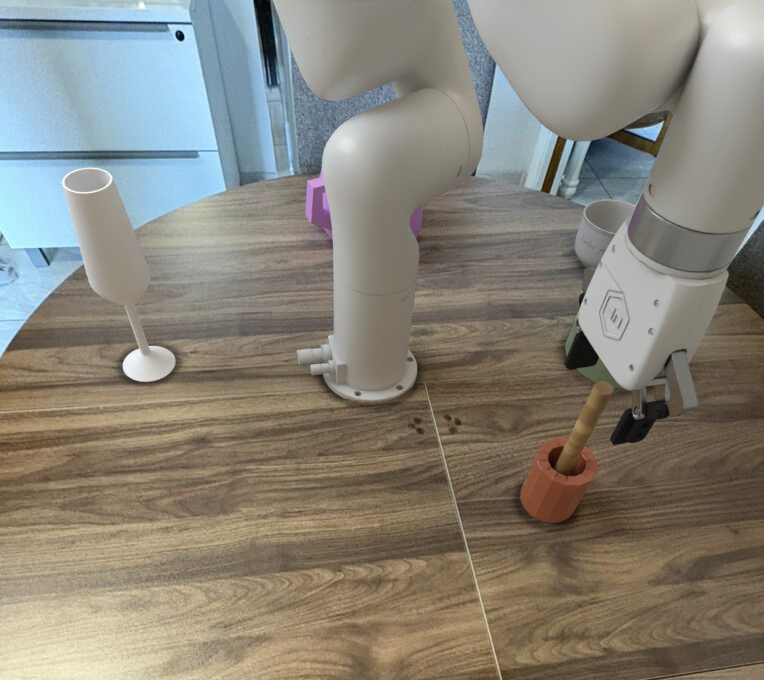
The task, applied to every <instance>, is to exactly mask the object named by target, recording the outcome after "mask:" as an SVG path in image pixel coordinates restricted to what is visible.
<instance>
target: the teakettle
mask: <svg viewBox="0 0 764 680" xmlns="http://www.w3.org/2000/svg"><path fill="white" fill-rule="evenodd" d="M320 169H321V170H320V173H319V177H316V178H312V179H308V180H306V197H305V214H304V215H305V217H306V218H307V220H308V221H309V223H310V224H311V225H315V226H318V227H321V228H323V230H324V232H325V233H326V234H327V235H328V237H329V238H330V239H331V241H332V242H333V237H332V225H331V217H330V211H329V205H328V200H327V196H326V191H325V186H324V181H323V175H322V167H321V168H320ZM423 208H424V205H423V206H421V207H419V208H418V209H416V210H415V211H414V212H413V214H412V215H411V217H410V227H411V230H412V232H413V233H414V235H415V237H416V239H417V238H418V236H419V234H420V232H421V229H422V225H423V212H424V211H423ZM417 240H418V239H417Z"/></svg>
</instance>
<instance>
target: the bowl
mask: <svg viewBox="0 0 764 680" xmlns="http://www.w3.org/2000/svg"><path fill="white" fill-rule="evenodd" d="M578 313H579V310H578V311H577V312H576V314H575V318H574V320H573V322H572V325H571V328H570V331H569V333H568V335H567V338H566V341H565V344H564V349H565V354H566V357H567V356H568V353H569V350H570V348H571V345H572V343H573V340H574V338H575V335H576V333H579V332H578V331H577V330H576V326H575V323H576V320H577V319H578ZM576 370H577V371H578V372H579V373H580V374H581V375H582V376H584V377H585V378H587V379H588V380H591V381H592V382H594V383H596V382H599V381H605V382H608V383H609V384H611V385H612V387H613V389H622V390H625V389H624V388H622V387H621V386H620V385H619V384H618V383H617V382H616V380H615V379H614V378H613V376H612V375H611V374H610V372H609V371H608V369H607V368H606V366H605V365H604V363H603V362H602V360H601V359H600V357H599V359H598V361H597V363H596V365H594V366H591V367H584V368H578V369H576Z"/></svg>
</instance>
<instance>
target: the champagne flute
mask: <svg viewBox="0 0 764 680" xmlns="http://www.w3.org/2000/svg"><path fill="white" fill-rule="evenodd" d="M61 185H62V189H63V192H64V193H63V194H64V195H65V196H64V197H65V201H66V203H67V207H68V211H69V214H70V219H71V223H72V225H73V229H74V233H75V237H76V240H77V244H78V247H79V251H80V255H81V259H82V262H83V266H84V270H85V273H86V277H87V281H88V284H89V286H90V288H91V289H92V290H93V291H94V292H95V294H97V295H98V296H99V297H101V298H103V299H104V300H106V301H108V302H110V303H113V304H117V305H120V306H124V308H125V312H126V315H127V317H128V320H129V323H130V326H131V329H132V332H133V335H134V338H135V340H136V343H137V347H138V348H136V349H134V350H132V351H131V352H130V353H129V354H127V356H126V357H125V358H124V360H123V362H122V369H123V370H122V371H123V372H124V374H125V375H126V376H127V377H128V378H130V380H131V379H132V380H133V381H137V382H143V383H148V382H155V381H158V380H161V379H164V378H165V377H167V376H168V375H169V374H171V372H172V371H173V370H174V368H175V367H176V357H175V355H174V353H173V352H172V351H171V350H169V349H168V348H166V347H163V346H159V345H149V344H148V341H147V338H146V335H145V331H144V328H143V325H142V322H141V320H140V319H141V318H140V316H139V313H138V310H137V307H136V304H135V303H137V302H138V301H140V299H141V298H142V297H143V296H145V294H146V293H147V291H148V289H149V287H150V283H151V280H152V274H151V273H152V272H151V269H150V266H149V264H148V262H147V259H146V257H145V254H144V252H143V250H142V247H141V245H140V242H139V239H138V238H137V235H136V231H135V230H134V227H133V225H132V222H131V220H130V217H129V215H128V213H127V210H126V207H125V205H124V202H123V200H122V198H121V194H120V193H119V190H118V187H117V185H116V183H115V179H114V178H113V175H112V174H111V173H110V172H109V171H107V170H105V169H103V168H99V167H82V168H77V169H75V170H72V171H70V172H68V173H67V174H65V175H64V177H63V178H62V179H61Z"/></svg>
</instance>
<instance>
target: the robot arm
mask: <svg viewBox="0 0 764 680" xmlns="http://www.w3.org/2000/svg"><path fill="white" fill-rule="evenodd" d="M466 2H467V6H468V9H469V12H470V16H471V18H472V22H473V24H474V26H475V29H476V31H477V33H478V35H479V38H480V39H481V41H482V43H483V45H484V46H485V48H486V50H487V52H488V53H489V55H490V56H491V58H492V59H493V61H494V62H495V64H496V65H497V67H498V69H499V70H500V72H501V73H502V75H503V76H504V78H505V79H506V80H507V82H508V83H509V85H510V87H511V88H512V89H513V91H514V92H515V94H516V95H517V97H518V98H519V100H520V101H521V103H523V105H524V106H525V107H526V109H527V110H528V112H529V113H531V115H532V116H533V117H534V118H535V119H536V120H537V121H538V122H539V123H540V124H542V126H543V127H544V128H546V129H547V130H548V131H550V132H552V133H553V134H555V135H556V136H558V137H560V138H562V139H566V140H569V141H573V142H592V141H597V140H601V139H604V138H607V137H609V136H610V135H612V134H614V133H617V132H618V131H620V130H622V129H624V128H626V127H627V126H629V125H631V124H633V123H634V122H636V121H637V120H639V119H641V118H643V117H645V116H647V115H649V114H653V113H659V112H660V113H661V112H665V111H666V112H667V111H668V112H670V113H671V115H672V117H671V119H670V122H669V123H668V124H669V125H668V127H667V129H666V131H665V134H664V136H663V139H662V142H661V144H660V147H659V149H658V152H657V154H656V157H655V159H654V162H653V165H652V166H651V169H650V171H649V174H648V177H647V179H646V180H645V181H646V182H645V183H644V187H643V190H642V192H641V193H640V197H639V199H638V201H637V204H636V205H637V206H636V209H635V211H634V214H633V215H632V216H630V217H628V218H627V219H626V220H625V221H624V223H623V224H622V225H621V227H620V228H619V230H618V231H617V233H616V234H615V236H614V238H613V239H612V241H611V242H610V244H609V246H608V248H607V250H606V251H605V253H604V255H603V257H602V259H601V261H600V263H599V265H598V267H592V268H587V267H585V268H584V269H583V272H582V274H583V275H582V283H581V291H582V293H580V294H579V297H578V307H579V310H578V311H579V313H578V312H577V313H578V319H577V320H576V323H575V326H576V330H577V331H578V332H579V333H576V335H575V338H574V340H573V343H572V345H571V348H570V350H569V353H568V356H566V359H565V360H564V364H563V365H564V366H565V368H566V369H567V370H569V371H570V370H577V369H578V368H584V367H591V366H594V365H596V363H597V361H598V359H599V357H600V359H601V360H602V362H603V363H604V365H605V366H606V368H607V369H608V371H609V372H610V374H611V375H612V376H613V378H614V379H615V380H616V382H617V383H618V384H619V385H620V386H621V387H622V388H624V389H623V390H625V391H629V392H631V407H629V408H626V409H625V410H624V411H623V413H622V415H621V416H620V418H619V420H618V422H617V424H616V426H615V428H614V429H613V432H612V433H611V435H610V438H609V440H610V443H611V444H612V445H613V446H617V445H624V444H635V443H640V442H642V441H643V440H644V439H646V437H647V436H648V434H649V432H650V431H651V429H652V427H653V425H654V424H655V422H656V421H657V420H659V421H660V420H664V419H671V418H676V417H680V416H681V415H684V414H686V413H688V412H690V411H693V410H695V409H696V408H697V407H698V405H699V399H698V395H697V392H696V387H695V383H694V379H693V377H692V373H691V368H690V365H689V364H690V362H691V361H692V359H693V357H694V356H695V355H696V352H697V350H698V348H699V347H700V345H701V343H702V341H703V339H704V337H705V335H706V333H707V331H708V329H709V327H710V325H711V323H712V321H713V319H714V316H715V313H716V311H717V309H718V307H719V304H720V302H721V300H722V299H721V298H722V296H723V294H724V292H725V288H726V285H727V282H728V279H729V276H730V275H729V271H728V268H729V266H730V265H731V263H732V262H733V259H734V258H735V256H736V254H737V252H738V251H739V249H740V247H741V246H742V244H743V242H744V240H745V239H746V237H747V235H748V234H749V232H750V229H751V228H752V226H753V225H754V223H755V222H756V220H757V218H758V216H759V215H760V213H761V212H762V209H763V208H764V0H466ZM272 3H273V5H274V8H275V10H276V13H277V15H278V18H279V19H278V20H279V21H280V24H281V26H282V29H283V32H284V34H285V37H286V40H287V42H288V45H289V48H290V51H291V53H292V55H293V58H294V60H295V63H296V66H297V67H298V70H299V72H300V74H301V76H302V78H303V80H304V82H305V84H306V85H307V86H308V88H309V89H310V91H311V92H312V93H313V94H314V95H316V96H317V97H318V98H320V99H321V100H326V101H330V102H331V101H332V102H333V101H335V102H338V101H342V100H347V99H350V98H354V97H356V96H359V95H362V94H365V93H368V92H371V91H374V90H376V89H378V88H381V87H383V86H386V85H389V84H391V86H392V89H393V91H394V95H395V96H396V98H394V99H390V100H388V101H385V102H384V103H381V104H379V105H376V106H373V107H371V108H369V109H366V110H364V111H361V112H359V113H357V114H355V115H354V116H352V117H350V118H349V119H347V120H346V121H344V122H343V123H342V124H341V125H339V126H338V127H337V128H336V129H335V130H334V132H332V134H331V135H330V137H329V139H328V140H327V142H326V144H325V145H324V149H323V153H322V158H321V168H322V175H323V181H324V186H325V191H326V196H327V200H328V205H329V211H330V217H331V225H332V237H333V241H332V269H333V270H332V271H333V273H332V275H333V278H332V279H333V281H332V282H333V285H332V286H333V334H330V335H327V343H325V344H323V343H322V344H320V347H317V348H316V347H315V348H303V349H302V348H301V349H296V355H297V356H296V358H297V362H298V366H305V365H309V369H310V374H311V376H319V375H322V376H323V380H324V382H325V384H326V385H327V386H328V388H329V389H331V391H332V392H333V393H334V394H336V395H337V396H339V397H340V398H341V399H344V400H353V401H357V402H362V403H383V402H388V401H391V400H394V399H397V398H399V397H401V396H402V395H404V394H406V393H407V392H408V391H410V390H412V388H413V387H414V385H415V383H416V381H417V376H418V363H417V359H416V357H415V355H414V353H413V352H412V351H411V350H410V349H409V345H410V337H411V330H412V321H413V313H414V308H415V307H414V306H415V298H416V289H417V282H418V275H419V274H418V273H419V267H420V266H419V265H420V263H419V262H420V246H419V243H418V239H416V237H415V235H414V233H413V232H412V230H411V227H410V217H411V215H412V214H413V212H414V211H415V210H416V209H418V208H419V207H421V206H423V207H424V206H425V205H426V204H428V203H429V202H431V201H433V200H434V199H437V198H438V197H440V196H442V195H444V194H447V192H449V191H451V190H453V189H455V188H456V187H458V186H460V185H461V184H463V183H464V182H466V181H467V180H468V179H469V178H470V177H471V176H472V175H473V174H474V173H475V171H476V169H477V168H478V166H479V164H480V162H481V158H482V155H483V151H484V141H485V140H484V126H483V125H484V124H483V119H482V113H481V109H480V104H479V101H478V96H477V92H476V88H475V84H474V80H473V77H472V72H471V69H470V65H469V61H468V56H467V53H466V49H465V46H464V41H463V37H462V33H461V29H460V25H459V22H458V17H457V14H456V10H455V7H454V3H453V0H272ZM321 362H322V363H321ZM650 387H655V400H652V401H648V400H647V388H650Z"/></svg>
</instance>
